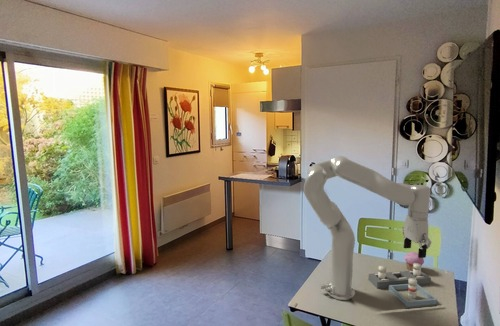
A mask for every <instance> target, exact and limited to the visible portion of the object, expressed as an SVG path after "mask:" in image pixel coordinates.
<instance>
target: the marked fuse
mask: <svg viewBox="0 0 500 326" xmlns="http://www.w3.org/2000/svg"><path fill="white" fill-rule="evenodd" d="M408 284H409V285H408V289H407V290H408V291H407V297H408V298H409V299H414V300H416V299H417V291H418V290H417V280H416V279H413V278H409V280H408Z"/></svg>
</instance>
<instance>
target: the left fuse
mask: <svg viewBox="0 0 500 326" xmlns="http://www.w3.org/2000/svg"><path fill="white" fill-rule="evenodd" d="M377 271H378V272H377V273H378V278H379V279H380V280H381V279H385V278H386V273H387V267H386V266H385V265H378V270H377Z"/></svg>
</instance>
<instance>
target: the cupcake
mask: <svg viewBox="0 0 500 326" xmlns="http://www.w3.org/2000/svg"><path fill="white" fill-rule="evenodd" d="M403 259H404V261H405V263H406V270H408V271H413V264H414V263H418V264H421V267H422V265H424V263H425V258H419V257H418V252H415V251H410V252H408V253H407V254H405V255H404V258H403Z"/></svg>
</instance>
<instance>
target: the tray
mask: <svg viewBox="0 0 500 326" xmlns="http://www.w3.org/2000/svg"><path fill="white" fill-rule="evenodd" d="M408 285H409V284H400V285H389V287H388V291H390V292H391V293H392V294H393V295H394V296H395V297H396V298H397V299H398V300H400V301H401V302H402V304H404V305H405V307H406V309H407V310H409V309H411V310H412V309H419V308H430V307H431V308H433V307H437V304H438V299H437V298H436V297H435V296H433V294H431V293H430V292H428V291H427V290H426V289H424V288H423V287H422V285H418V284H417V291H418V292H419V293H421V294H422V295H423V296H425V297H426V298H427V299H426V298H425V299H414V300H408V299H407V298H406V297H405V296H404V295H402V294H401V293H400V292H399V290H408Z"/></svg>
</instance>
